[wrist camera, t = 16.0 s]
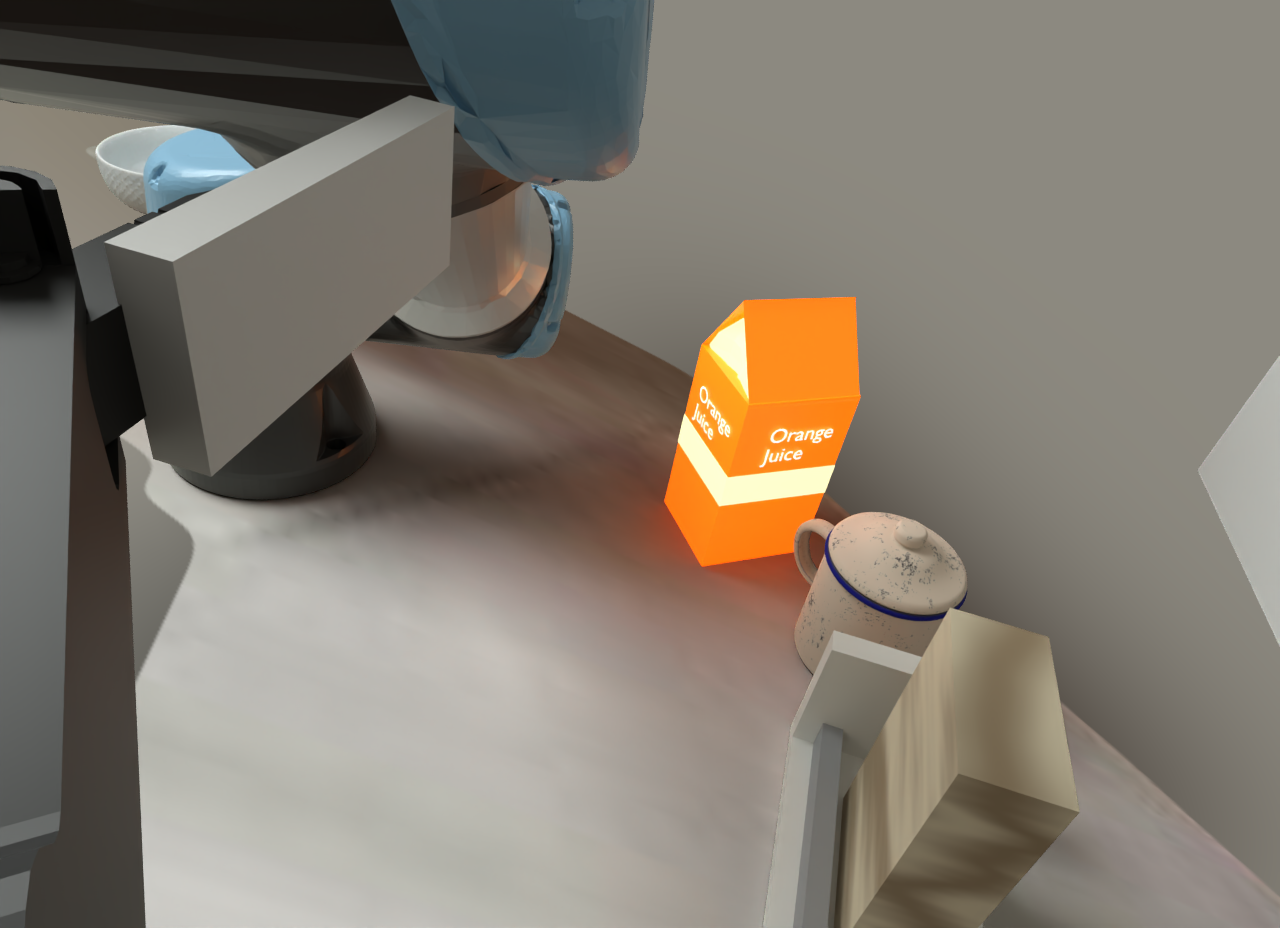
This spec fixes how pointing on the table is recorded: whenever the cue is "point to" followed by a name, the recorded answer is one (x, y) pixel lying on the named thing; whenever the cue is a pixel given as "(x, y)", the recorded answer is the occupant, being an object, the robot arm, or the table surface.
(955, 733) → the tall wooden block
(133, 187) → the cereal bowl
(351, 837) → the table surface
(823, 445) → the orange juice
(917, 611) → the teacup with lid
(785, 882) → the track
